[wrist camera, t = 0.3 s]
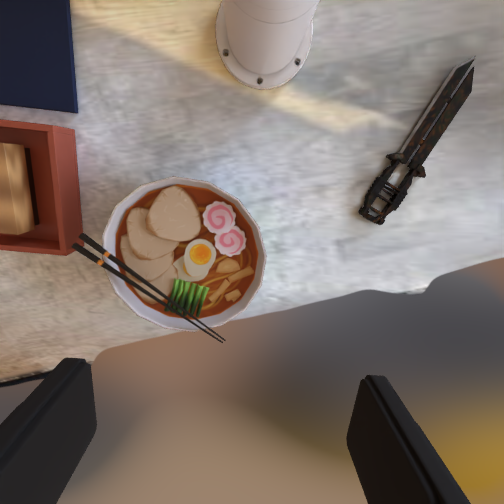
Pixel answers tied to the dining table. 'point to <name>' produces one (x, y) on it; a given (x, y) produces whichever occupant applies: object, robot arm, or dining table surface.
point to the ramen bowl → (182, 254)
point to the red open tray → (48, 188)
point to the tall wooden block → (17, 190)
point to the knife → (420, 142)
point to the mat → (37, 55)
